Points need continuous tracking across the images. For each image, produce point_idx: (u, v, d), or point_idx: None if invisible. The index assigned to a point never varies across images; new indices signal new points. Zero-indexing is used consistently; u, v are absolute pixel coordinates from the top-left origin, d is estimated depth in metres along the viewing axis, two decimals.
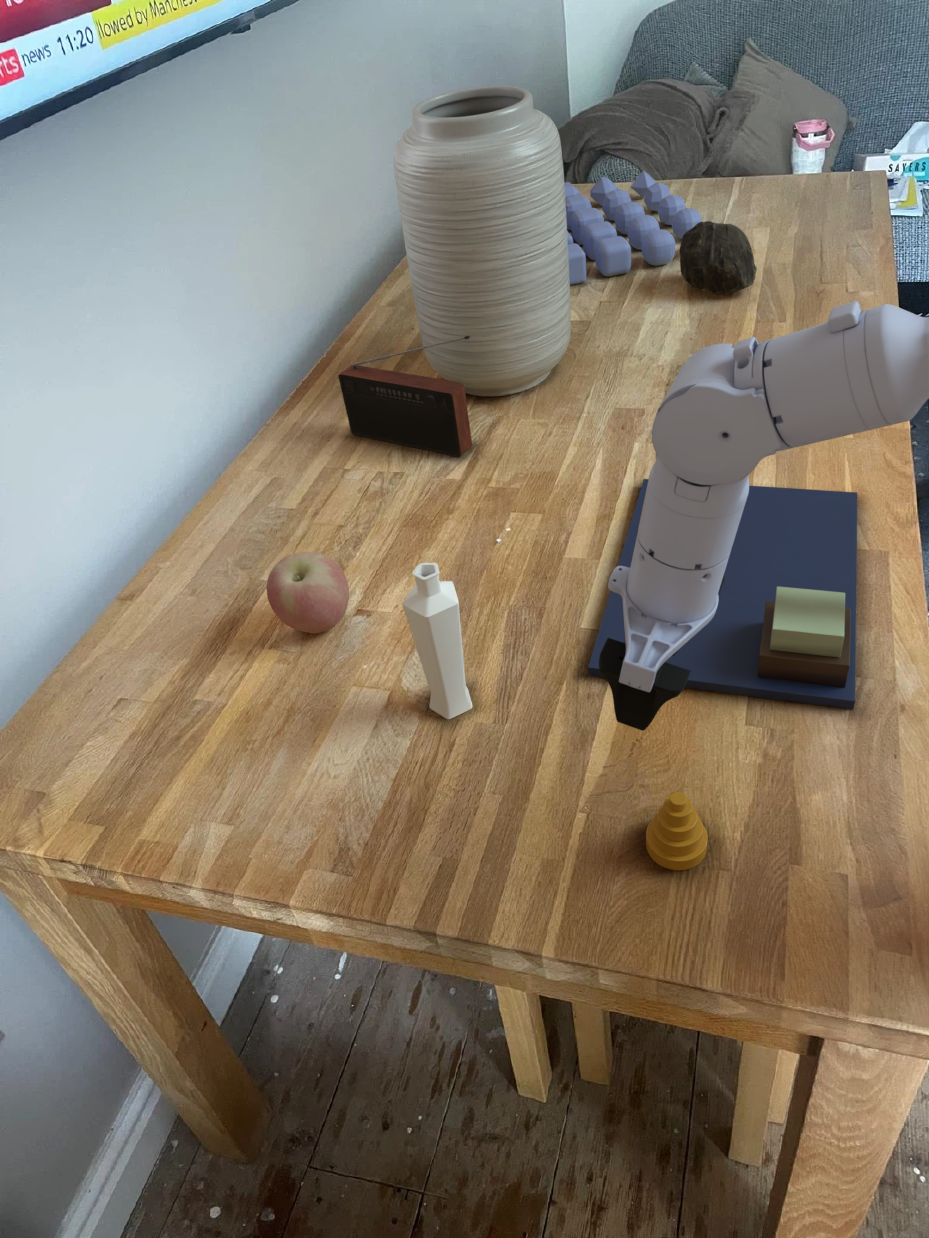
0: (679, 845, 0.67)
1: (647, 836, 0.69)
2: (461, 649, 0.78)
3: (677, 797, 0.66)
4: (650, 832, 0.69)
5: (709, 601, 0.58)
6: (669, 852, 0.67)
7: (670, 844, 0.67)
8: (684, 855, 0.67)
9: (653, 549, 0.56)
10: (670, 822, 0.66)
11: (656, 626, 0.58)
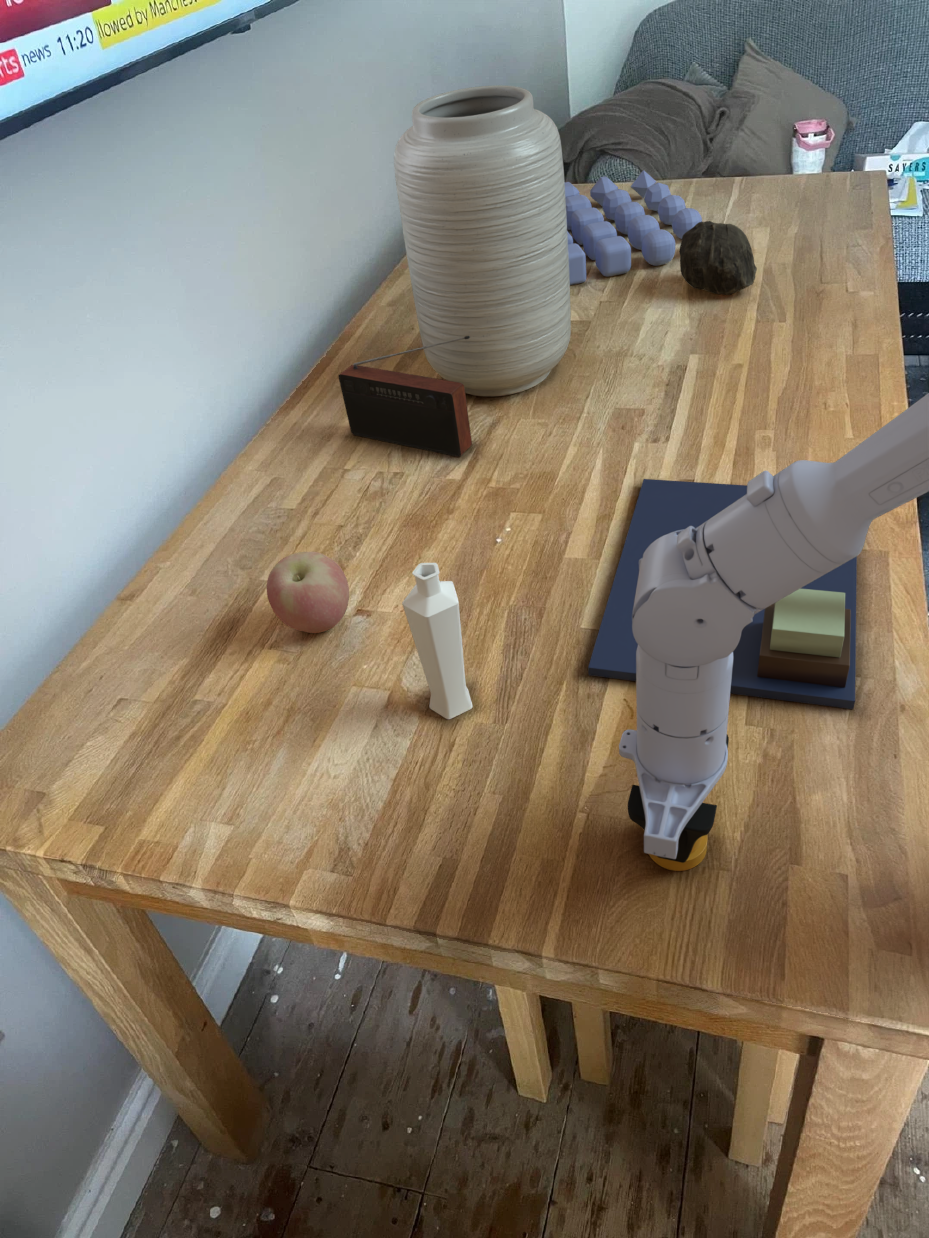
0: None
1: None
2: (461, 649, 0.78)
3: None
4: None
5: (717, 758, 0.60)
6: None
7: None
8: None
9: (657, 724, 0.58)
10: None
11: (671, 791, 0.60)
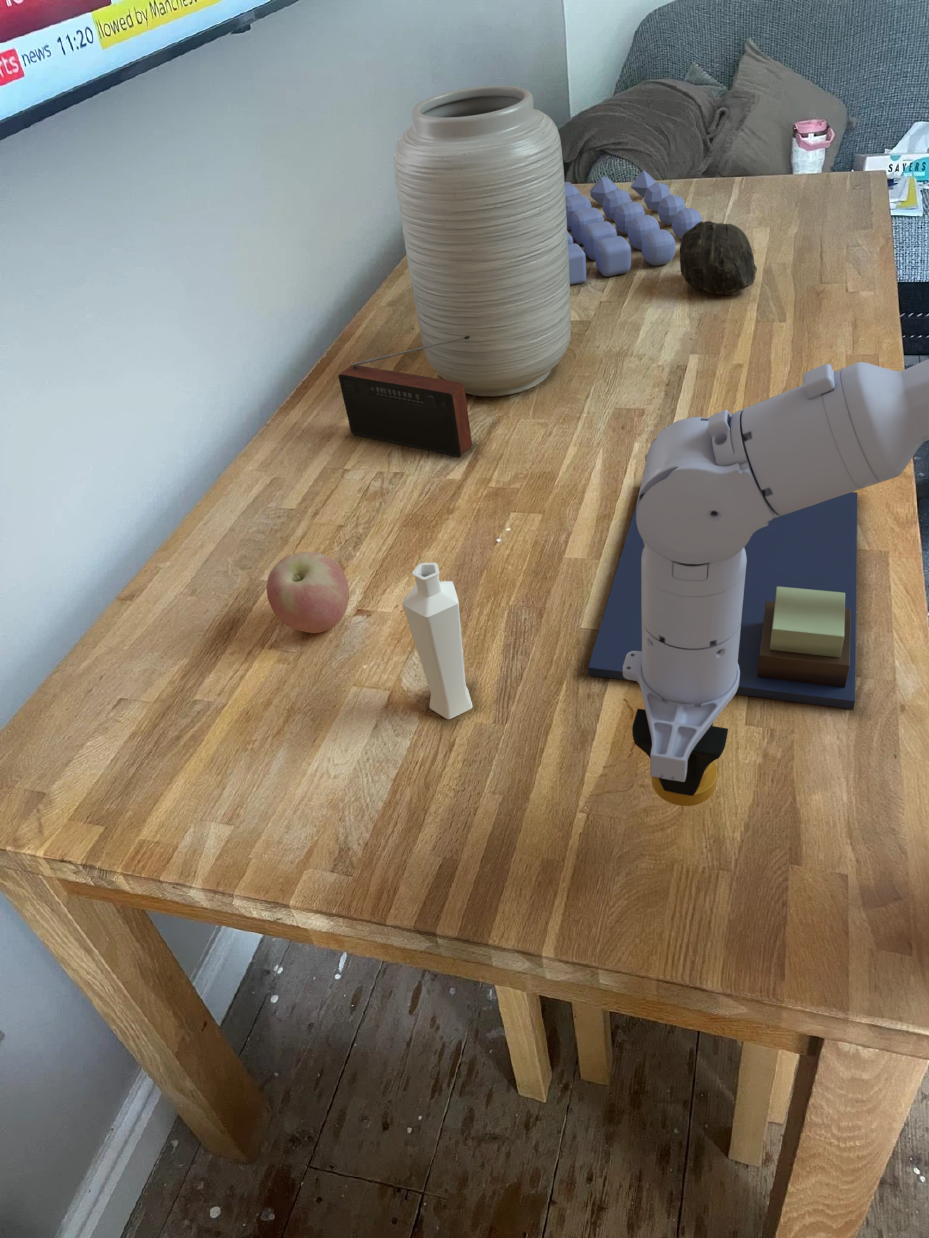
0: None
1: None
2: (461, 649, 0.78)
3: None
4: None
5: (729, 675, 0.55)
6: None
7: None
8: None
9: (663, 635, 0.53)
10: None
11: (679, 710, 0.56)
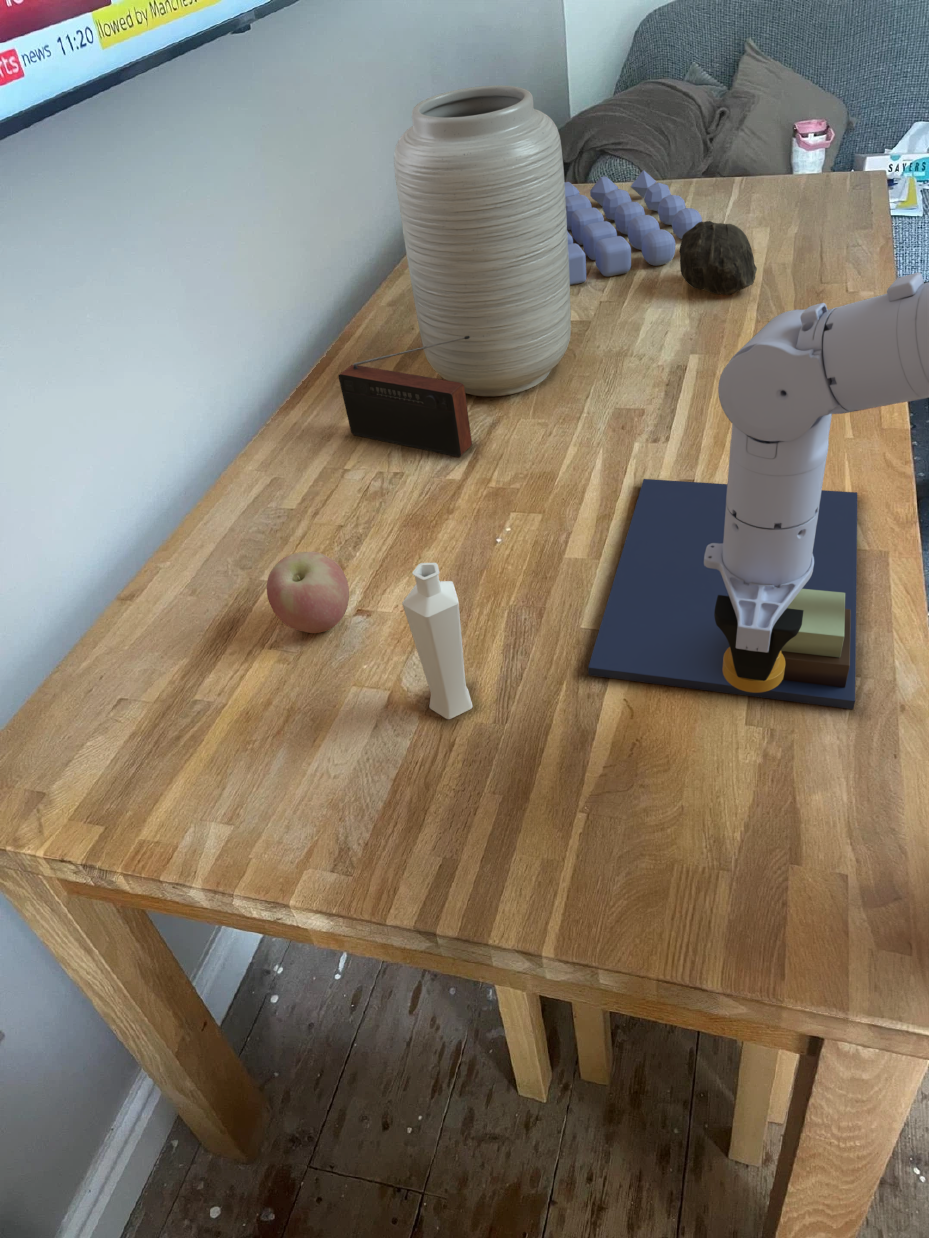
0: None
1: (725, 662, 0.70)
2: (461, 649, 0.78)
3: None
4: (728, 658, 0.70)
5: (806, 557, 0.60)
6: None
7: None
8: None
9: (735, 509, 0.59)
10: None
11: (760, 590, 0.61)
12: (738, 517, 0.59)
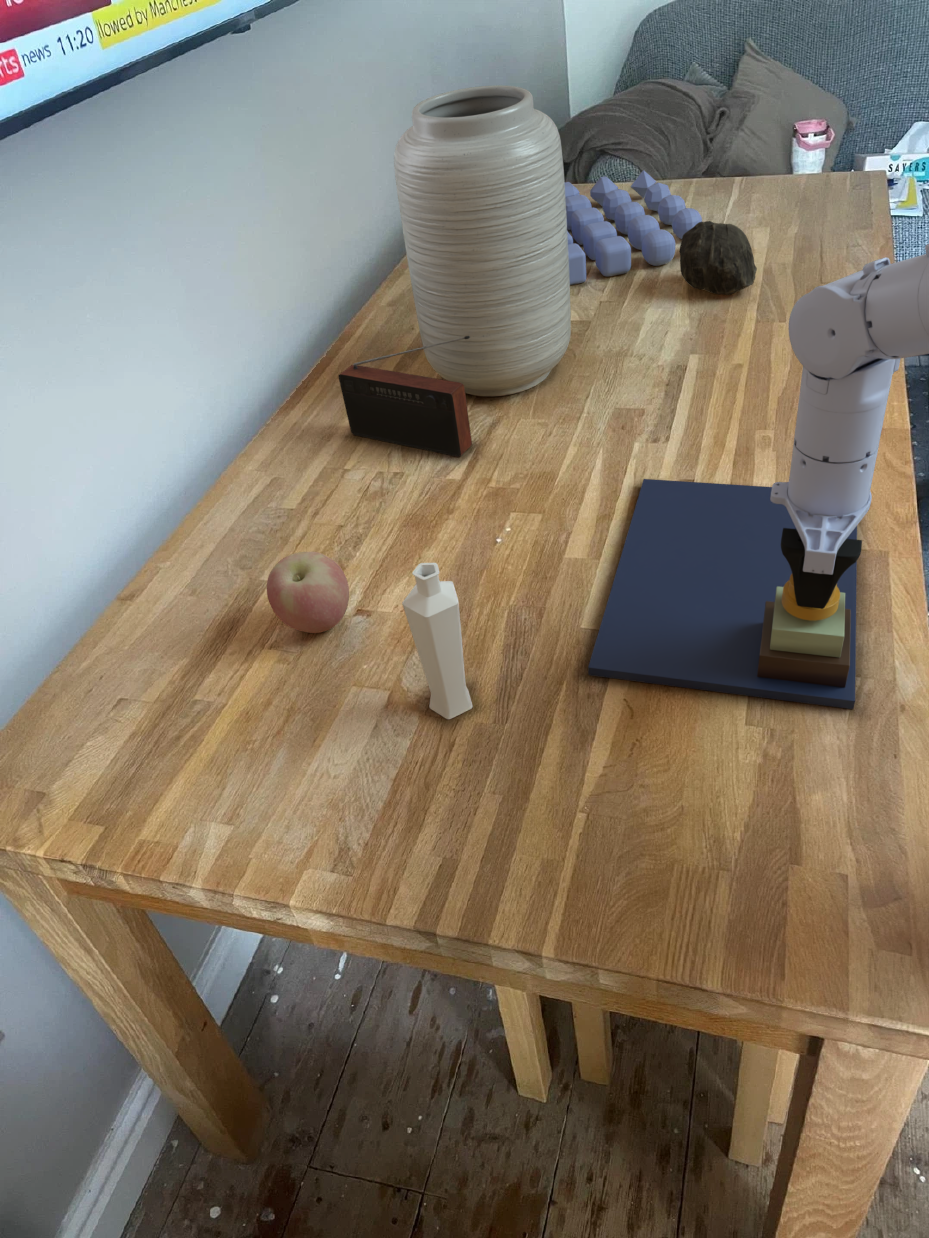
0: None
1: (784, 593, 0.77)
2: (461, 649, 0.78)
3: None
4: (787, 590, 0.77)
5: (866, 491, 0.67)
6: None
7: None
8: None
9: (796, 439, 0.67)
10: None
11: (824, 521, 0.68)
12: (797, 446, 0.67)
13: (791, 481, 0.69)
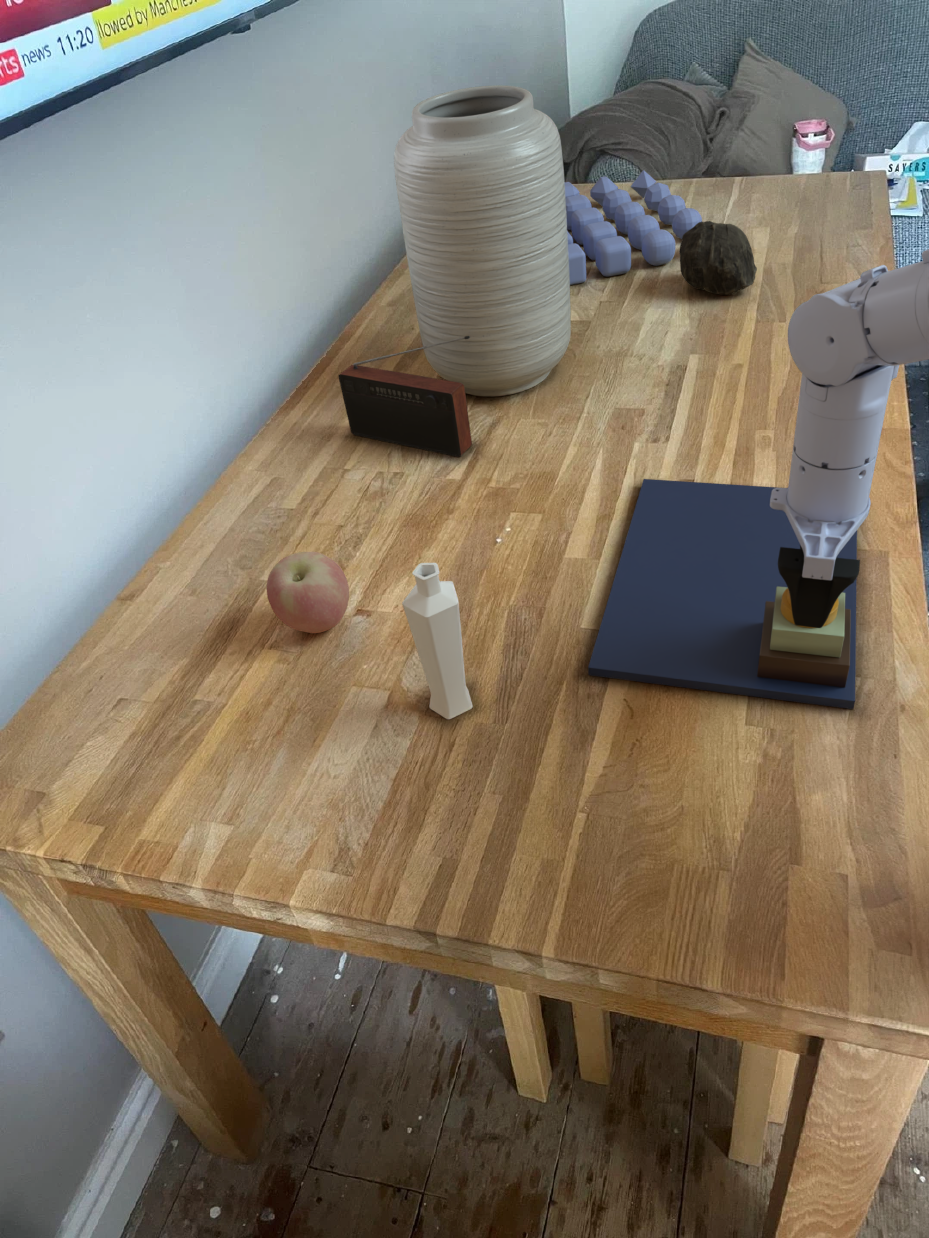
0: None
1: (783, 601, 0.77)
2: (461, 649, 0.78)
3: None
4: (786, 598, 0.77)
5: (865, 497, 0.68)
6: None
7: None
8: None
9: (795, 445, 0.67)
10: None
11: (823, 526, 0.68)
12: (796, 452, 0.67)
13: (790, 487, 0.69)
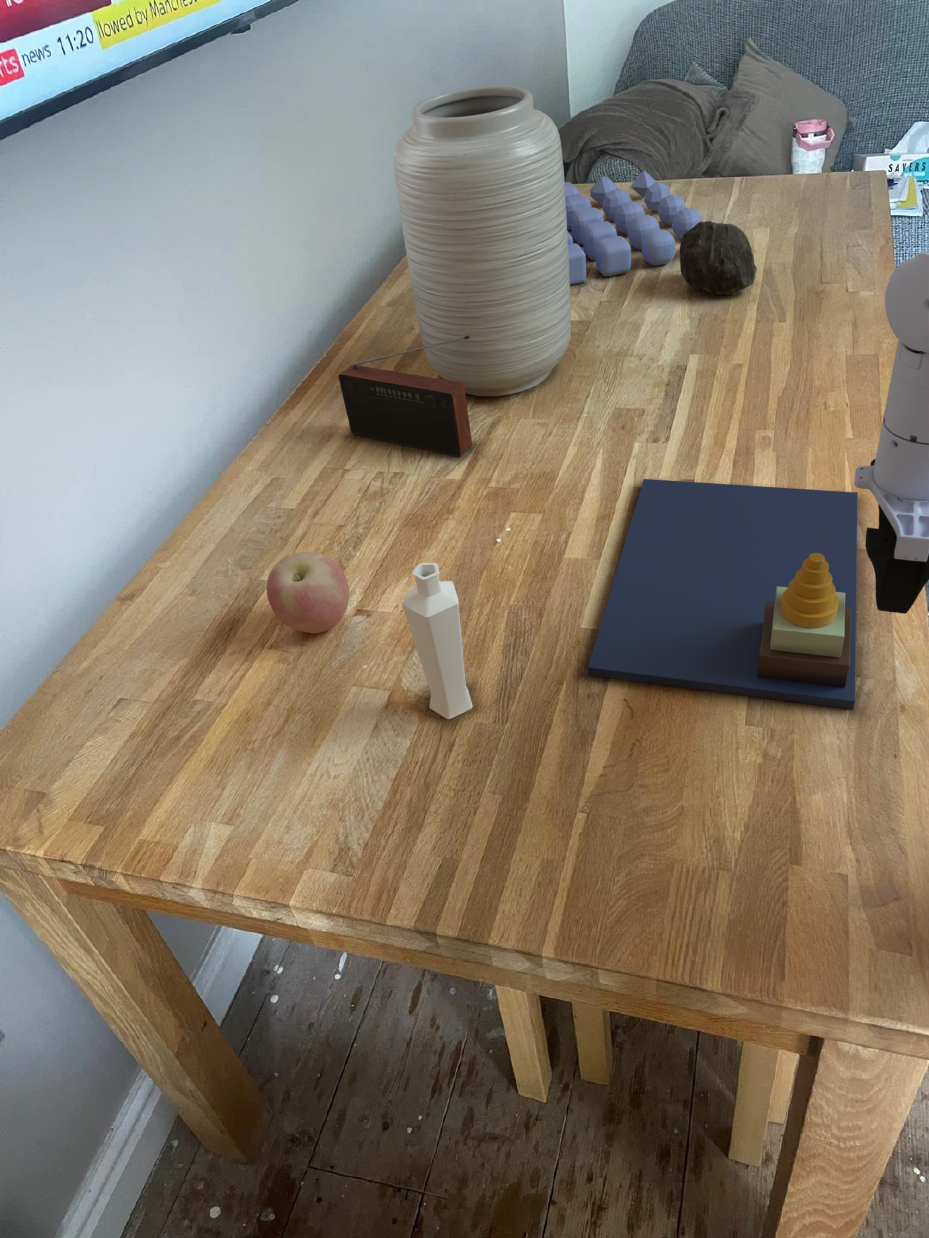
0: (816, 602, 0.75)
1: (783, 601, 0.77)
2: (461, 649, 0.78)
3: (816, 556, 0.74)
4: (786, 598, 0.77)
5: None
6: (806, 610, 0.75)
7: (808, 601, 0.75)
8: (819, 612, 0.75)
9: (885, 416, 0.64)
10: (808, 580, 0.74)
11: (916, 505, 0.64)
12: (885, 424, 0.64)
13: (878, 464, 0.66)
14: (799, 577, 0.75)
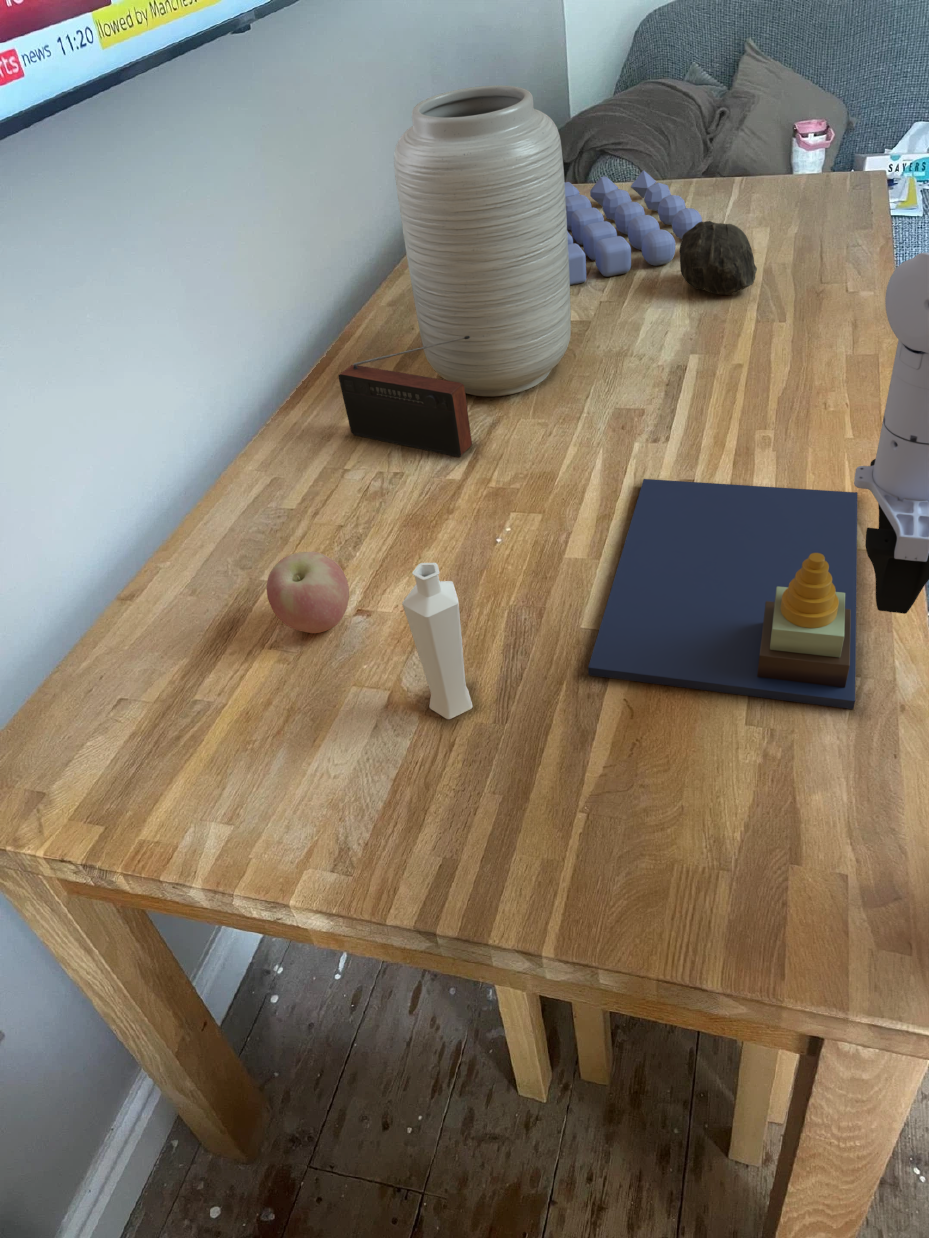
0: (816, 602, 0.75)
1: (783, 601, 0.77)
2: (461, 649, 0.78)
3: (816, 556, 0.74)
4: (786, 598, 0.77)
5: None
6: (806, 610, 0.75)
7: (808, 601, 0.75)
8: (819, 612, 0.75)
9: (885, 416, 0.64)
10: (808, 580, 0.74)
11: (916, 505, 0.64)
12: (885, 424, 0.64)
13: (878, 464, 0.66)
14: (799, 577, 0.75)
